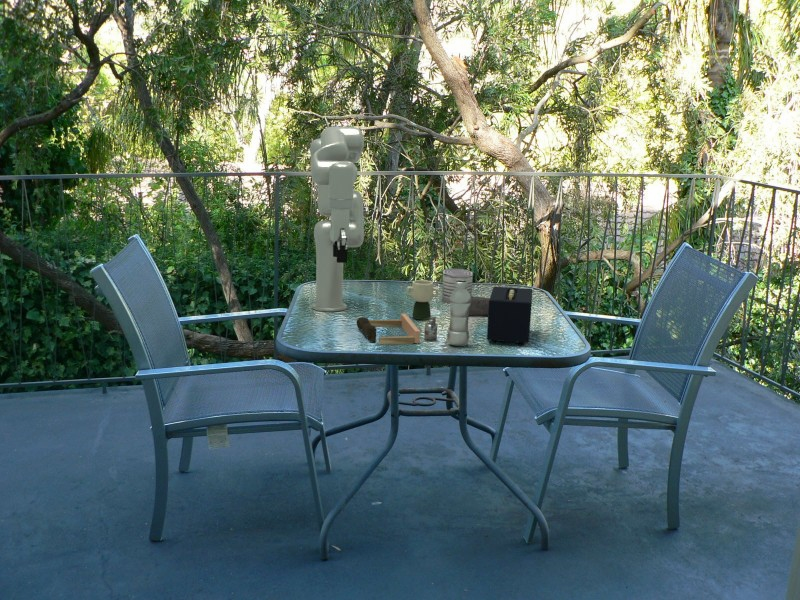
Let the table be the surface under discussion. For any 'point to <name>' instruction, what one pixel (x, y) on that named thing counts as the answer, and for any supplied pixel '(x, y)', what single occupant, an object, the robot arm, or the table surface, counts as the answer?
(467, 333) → the plastic bottle
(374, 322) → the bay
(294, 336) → the table surface
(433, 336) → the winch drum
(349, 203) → the robot arm
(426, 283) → the character mug
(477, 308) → the perforated stone tool
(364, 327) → the dark brown log
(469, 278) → the can
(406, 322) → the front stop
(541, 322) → the table surface
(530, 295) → the speaker
